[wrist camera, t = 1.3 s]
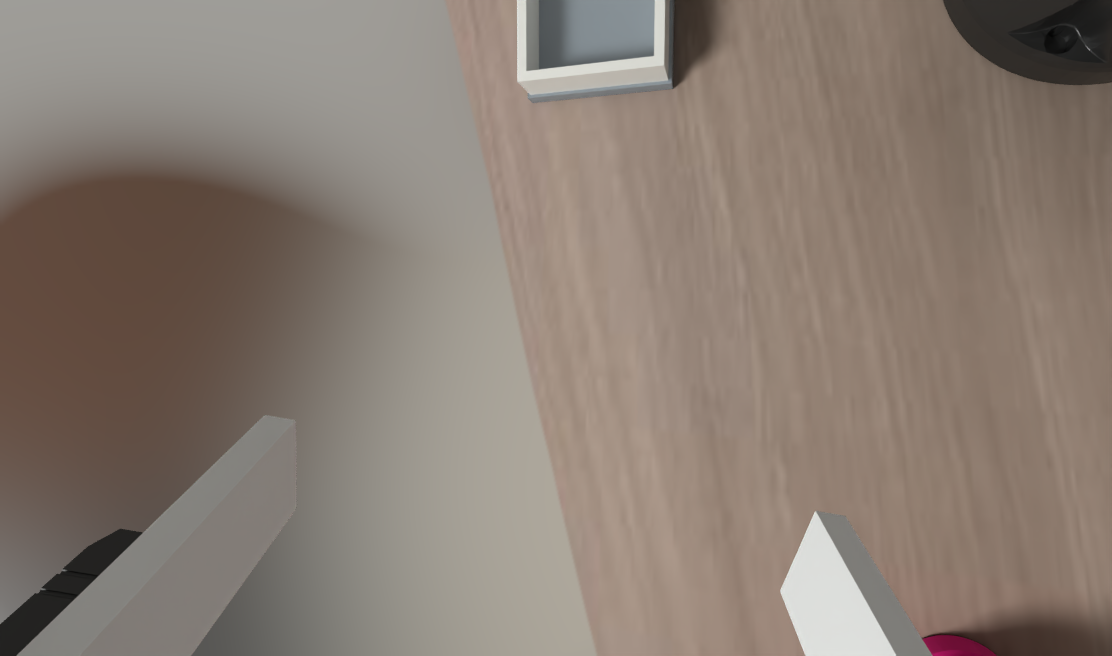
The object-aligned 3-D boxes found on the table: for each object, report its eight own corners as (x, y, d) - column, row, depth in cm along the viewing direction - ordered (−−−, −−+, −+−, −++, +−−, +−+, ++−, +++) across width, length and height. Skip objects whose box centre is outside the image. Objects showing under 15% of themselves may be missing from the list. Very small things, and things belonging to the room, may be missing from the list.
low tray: (532, -42, 38) (514, -73, 35) (675, -67, 35) (670, -104, 32) (532, 102, 39) (514, 85, 35) (673, 88, 36) (667, 68, 33)
